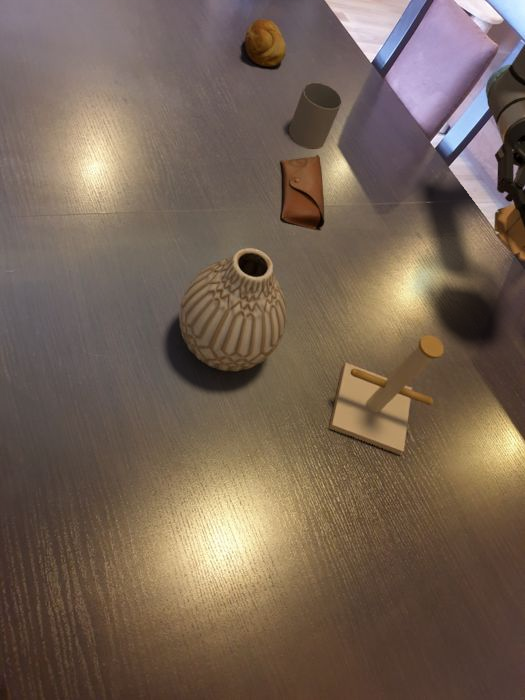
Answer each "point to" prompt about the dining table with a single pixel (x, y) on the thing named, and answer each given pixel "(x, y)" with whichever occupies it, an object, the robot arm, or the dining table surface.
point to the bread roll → (265, 43)
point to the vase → (234, 312)
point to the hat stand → (381, 399)
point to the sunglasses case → (303, 192)
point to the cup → (314, 115)
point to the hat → (511, 230)
